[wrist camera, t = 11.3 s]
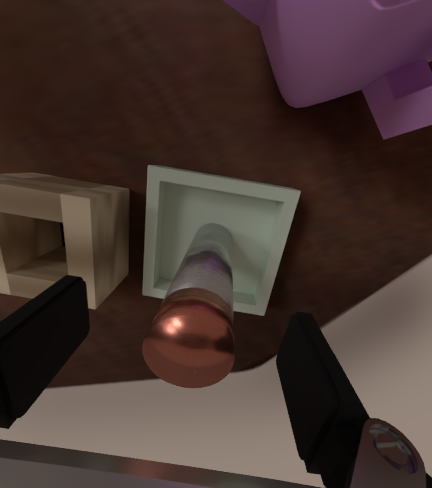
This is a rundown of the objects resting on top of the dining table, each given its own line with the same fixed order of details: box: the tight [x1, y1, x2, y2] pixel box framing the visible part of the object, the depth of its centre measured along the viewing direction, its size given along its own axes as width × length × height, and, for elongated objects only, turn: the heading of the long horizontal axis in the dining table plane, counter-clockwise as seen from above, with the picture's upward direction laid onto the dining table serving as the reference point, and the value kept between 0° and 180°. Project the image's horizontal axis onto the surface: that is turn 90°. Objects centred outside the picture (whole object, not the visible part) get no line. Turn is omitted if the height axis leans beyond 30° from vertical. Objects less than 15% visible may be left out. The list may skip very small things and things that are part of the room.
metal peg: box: [142, 223, 234, 388], centre depth 14 cm, size 4×4×13 cm
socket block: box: [0, 173, 130, 309], centre depth 19 cm, size 9×9×6 cm
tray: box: [142, 165, 301, 316], centre depth 20 cm, size 12×12×2 cm
